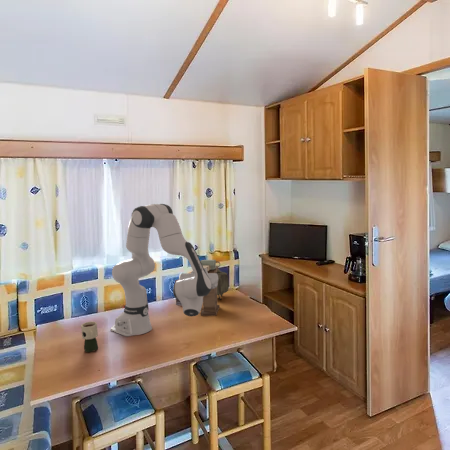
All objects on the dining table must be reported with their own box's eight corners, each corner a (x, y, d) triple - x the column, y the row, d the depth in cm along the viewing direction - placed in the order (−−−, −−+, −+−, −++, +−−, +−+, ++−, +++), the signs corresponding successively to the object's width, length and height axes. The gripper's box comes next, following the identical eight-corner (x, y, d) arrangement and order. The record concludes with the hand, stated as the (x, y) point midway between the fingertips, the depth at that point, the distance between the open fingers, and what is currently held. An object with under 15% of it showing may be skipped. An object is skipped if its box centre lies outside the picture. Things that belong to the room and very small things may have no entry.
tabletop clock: (222, 294, 256) (220, 258, 253) (230, 297, 249) (229, 260, 245) (204, 299, 247) (203, 262, 244) (213, 303, 240) (211, 264, 237)
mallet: (207, 273, 196) (207, 264, 196) (192, 273, 198) (192, 264, 198) (215, 268, 223) (215, 259, 223) (202, 268, 224) (202, 259, 224)
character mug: (81, 348, 182) (78, 322, 180) (96, 344, 186) (94, 319, 184) (86, 356, 173) (83, 329, 171) (101, 352, 176) (99, 326, 175)
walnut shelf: (215, 317, 215) (213, 273, 211) (199, 317, 216) (197, 273, 213) (219, 306, 232) (218, 265, 229) (205, 306, 234) (203, 265, 230)
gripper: (216, 284, 185) (219, 264, 195) (175, 284, 187) (181, 264, 198) (217, 292, 188) (220, 273, 199) (178, 292, 191) (183, 273, 202)
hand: (200, 269), depth 199 cm, fingers closed on mallet, 4 cm apart
